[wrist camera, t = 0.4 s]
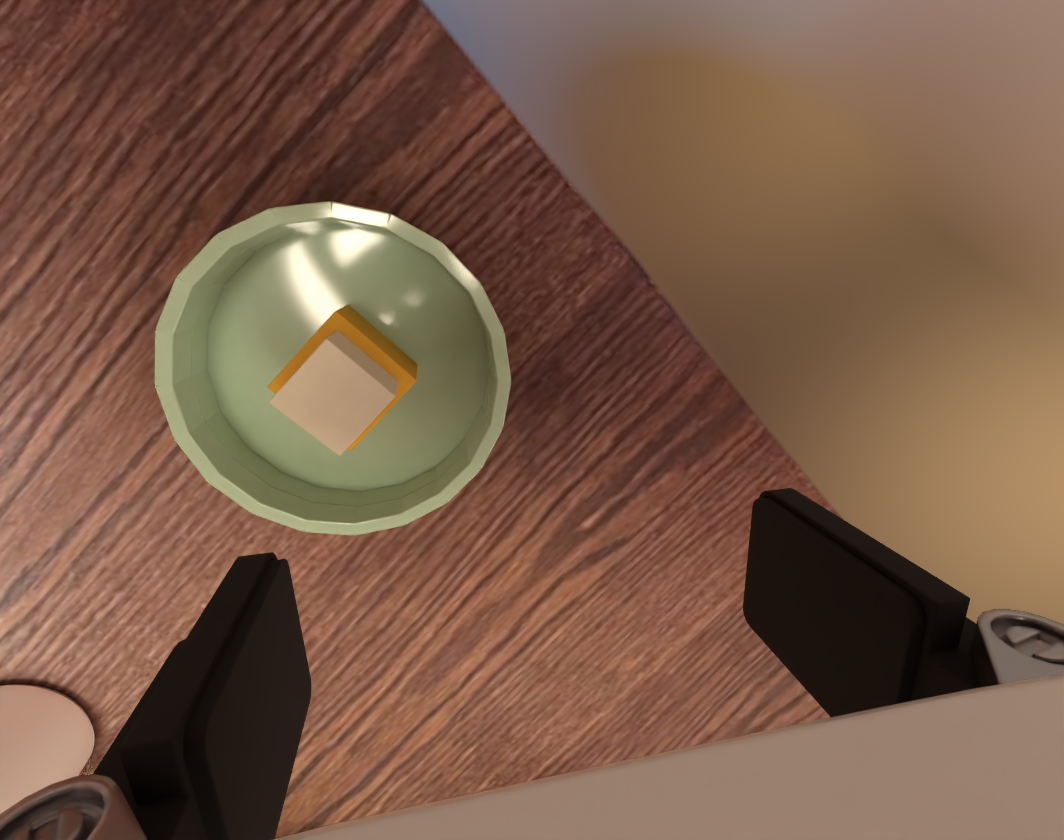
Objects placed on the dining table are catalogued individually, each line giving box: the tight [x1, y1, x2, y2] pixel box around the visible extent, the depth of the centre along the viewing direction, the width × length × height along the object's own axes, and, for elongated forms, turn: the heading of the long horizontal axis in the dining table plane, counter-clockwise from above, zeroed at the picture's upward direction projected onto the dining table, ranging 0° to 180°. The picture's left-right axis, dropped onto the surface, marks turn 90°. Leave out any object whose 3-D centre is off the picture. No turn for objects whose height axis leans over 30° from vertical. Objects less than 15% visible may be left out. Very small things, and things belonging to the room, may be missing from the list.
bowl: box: [155, 201, 511, 535], centre depth 23 cm, size 13×13×4 cm
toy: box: [267, 305, 418, 456], centre depth 21 cm, size 4×4×6 cm
